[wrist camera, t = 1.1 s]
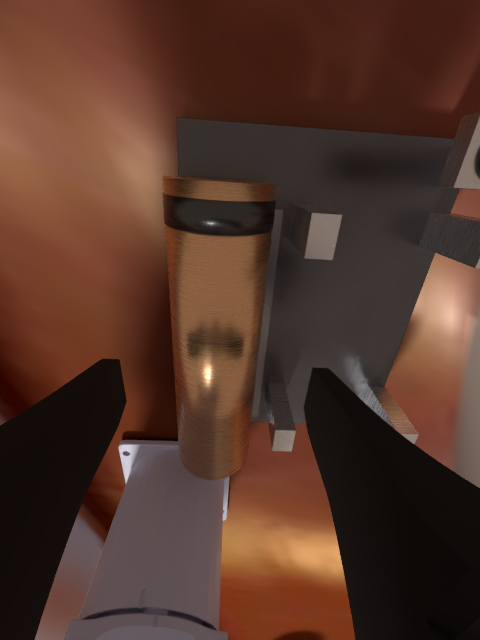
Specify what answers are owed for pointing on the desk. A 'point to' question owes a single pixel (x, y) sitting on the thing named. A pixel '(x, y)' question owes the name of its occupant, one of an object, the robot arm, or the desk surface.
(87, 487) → the robot arm
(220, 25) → the desk surface
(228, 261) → the tube
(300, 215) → the small blocks
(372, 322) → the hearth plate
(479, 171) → the aperture bracket
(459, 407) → the desk surface
